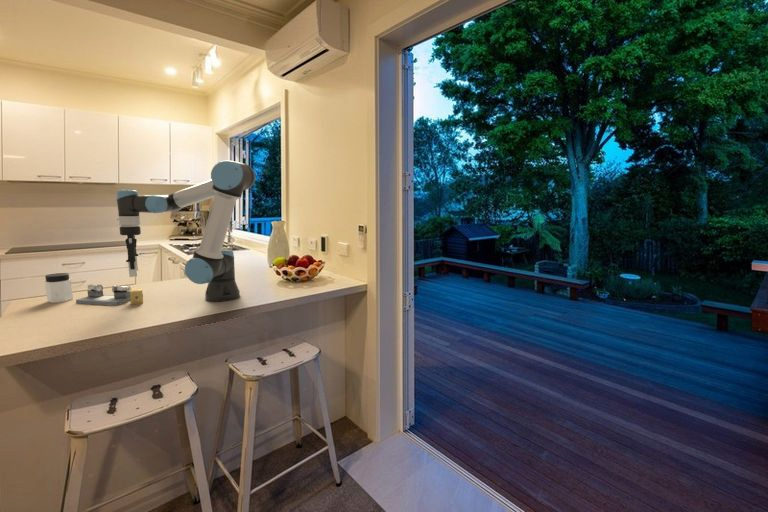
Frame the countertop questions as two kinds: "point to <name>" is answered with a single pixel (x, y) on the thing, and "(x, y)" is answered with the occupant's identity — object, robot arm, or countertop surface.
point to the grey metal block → (121, 292)
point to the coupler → (136, 296)
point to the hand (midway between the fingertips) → (133, 273)
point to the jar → (58, 287)
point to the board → (103, 300)
